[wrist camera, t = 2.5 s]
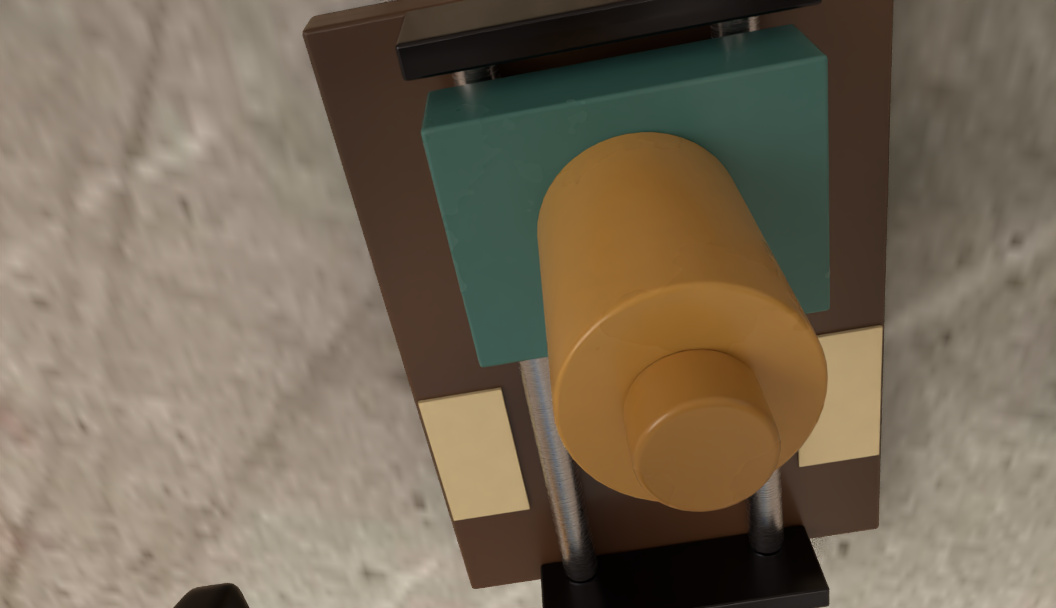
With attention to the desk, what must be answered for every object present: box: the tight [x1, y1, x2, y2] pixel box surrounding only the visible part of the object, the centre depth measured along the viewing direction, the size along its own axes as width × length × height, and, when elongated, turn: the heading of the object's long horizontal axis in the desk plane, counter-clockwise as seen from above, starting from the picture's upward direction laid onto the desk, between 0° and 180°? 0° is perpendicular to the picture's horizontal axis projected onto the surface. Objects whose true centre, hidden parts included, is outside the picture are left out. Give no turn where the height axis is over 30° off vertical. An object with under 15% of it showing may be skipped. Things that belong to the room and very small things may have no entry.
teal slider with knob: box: [421, 24, 830, 512], centre depth 13 cm, size 6×4×7 cm
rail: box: [303, 0, 893, 608], centre depth 19 cm, size 10×14×3 cm
